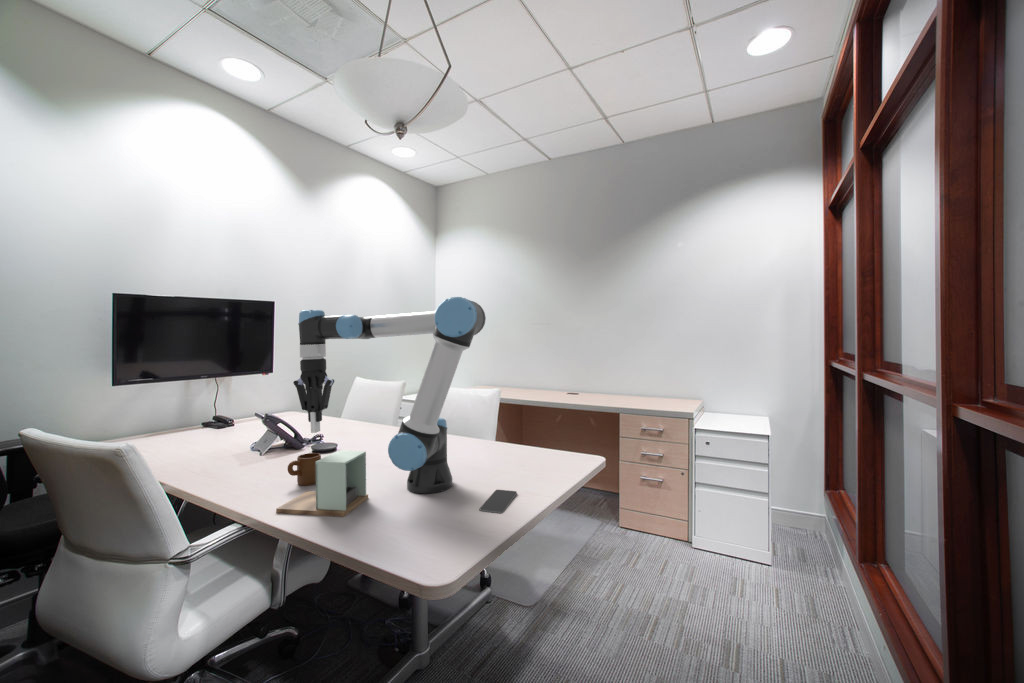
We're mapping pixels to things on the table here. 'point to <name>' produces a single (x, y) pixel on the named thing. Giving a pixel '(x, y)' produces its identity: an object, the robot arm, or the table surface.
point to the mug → (305, 468)
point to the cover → (339, 478)
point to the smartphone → (498, 501)
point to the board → (308, 507)
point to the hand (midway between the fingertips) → (315, 431)
